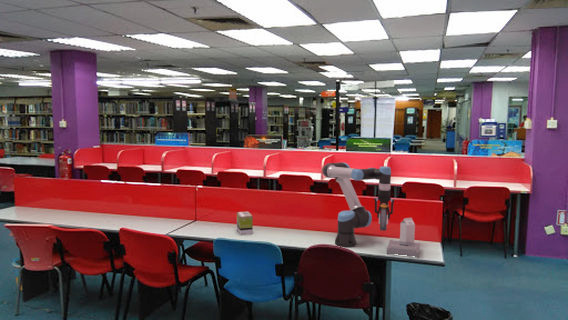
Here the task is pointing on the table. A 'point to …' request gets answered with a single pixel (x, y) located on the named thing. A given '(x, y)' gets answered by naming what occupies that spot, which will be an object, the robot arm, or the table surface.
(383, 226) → the grey orange-topped cylinder
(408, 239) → the milk carton
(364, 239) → the table surface
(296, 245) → the table surface
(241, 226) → the tea box
